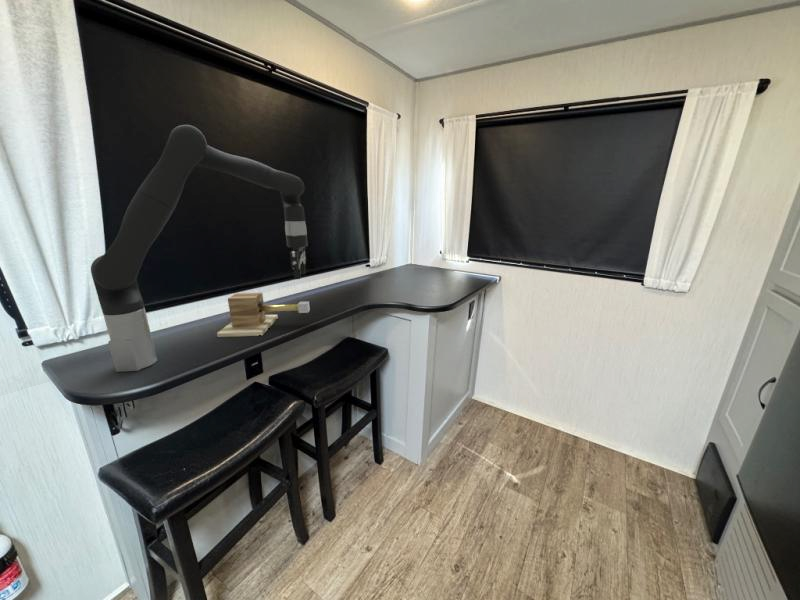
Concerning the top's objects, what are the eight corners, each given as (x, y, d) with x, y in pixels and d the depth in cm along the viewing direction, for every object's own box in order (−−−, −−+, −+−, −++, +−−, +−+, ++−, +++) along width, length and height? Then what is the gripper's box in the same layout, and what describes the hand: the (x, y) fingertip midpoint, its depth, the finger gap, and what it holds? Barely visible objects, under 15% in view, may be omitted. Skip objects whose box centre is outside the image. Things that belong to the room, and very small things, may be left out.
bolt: (308, 312, 125) (307, 303, 124) (249, 314, 123) (247, 305, 122) (309, 309, 129) (309, 301, 128) (252, 311, 127) (251, 303, 126)
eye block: (262, 335, 118) (257, 301, 114) (217, 337, 117) (211, 303, 113) (277, 317, 137) (274, 288, 133) (239, 319, 136) (235, 289, 132)
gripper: (290, 232, 125) (294, 273, 129) (280, 235, 111) (285, 280, 116) (310, 232, 125) (313, 272, 130) (302, 235, 112) (306, 280, 116)
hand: (300, 276), depth 123 cm, fingers open, 8 cm apart
